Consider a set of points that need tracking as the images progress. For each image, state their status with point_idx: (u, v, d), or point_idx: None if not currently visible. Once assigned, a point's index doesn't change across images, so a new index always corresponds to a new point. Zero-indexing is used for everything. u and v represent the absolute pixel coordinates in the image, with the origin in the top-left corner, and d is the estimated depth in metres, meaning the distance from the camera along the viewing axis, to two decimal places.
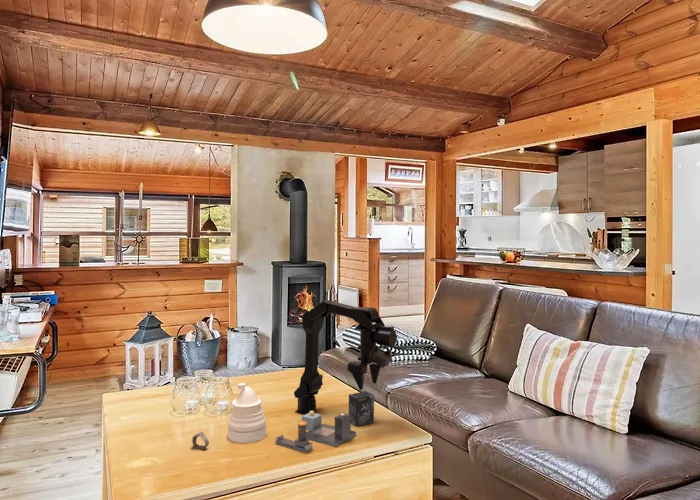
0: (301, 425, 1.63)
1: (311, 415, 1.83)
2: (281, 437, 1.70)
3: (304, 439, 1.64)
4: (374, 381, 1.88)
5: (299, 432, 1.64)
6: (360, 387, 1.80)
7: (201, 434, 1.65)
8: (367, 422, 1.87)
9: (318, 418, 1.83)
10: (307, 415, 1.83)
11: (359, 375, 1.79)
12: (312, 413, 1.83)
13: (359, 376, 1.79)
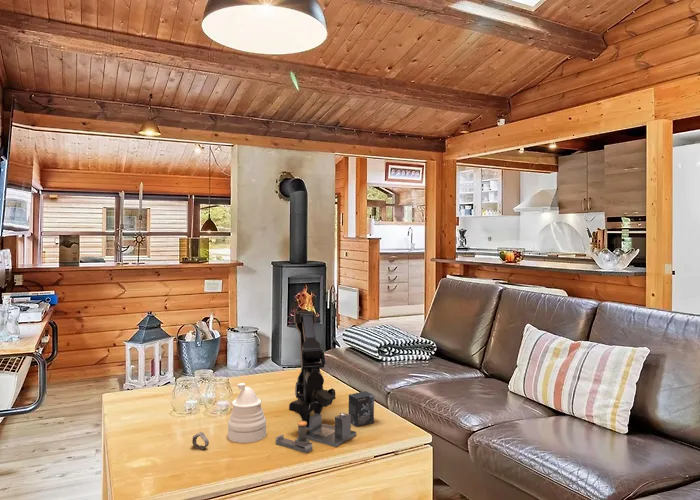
0: (301, 425, 1.63)
1: (311, 415, 1.83)
2: (281, 437, 1.70)
3: (304, 439, 1.64)
4: None
5: (299, 432, 1.64)
6: (306, 425, 1.81)
7: (201, 434, 1.65)
8: (367, 422, 1.87)
9: (318, 418, 1.83)
10: None
11: (305, 413, 1.80)
12: (312, 413, 1.83)
13: (305, 414, 1.80)
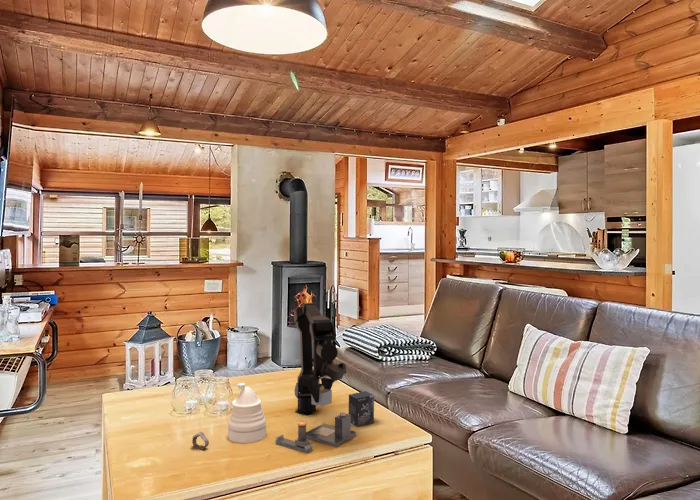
0: (301, 425, 1.63)
1: (321, 390, 1.77)
2: (281, 437, 1.70)
3: (304, 439, 1.64)
4: None
5: (299, 432, 1.64)
6: (316, 400, 1.75)
7: (201, 434, 1.65)
8: (367, 422, 1.87)
9: (328, 393, 1.76)
10: None
11: (314, 388, 1.74)
12: (322, 388, 1.77)
13: (314, 389, 1.74)
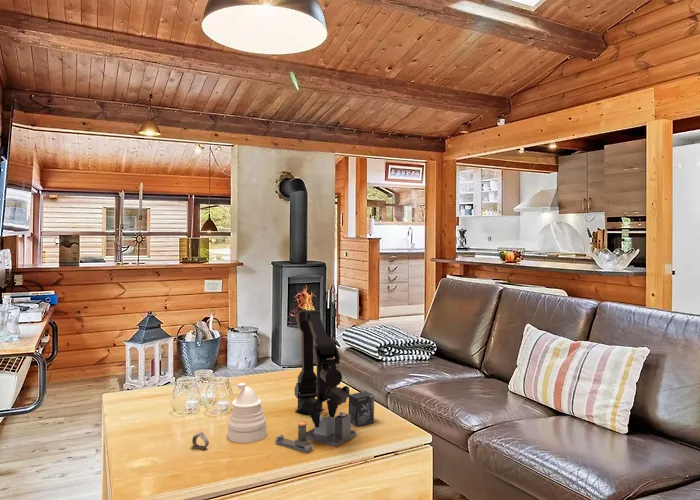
0: (301, 425, 1.63)
1: (324, 418, 1.76)
2: (281, 437, 1.70)
3: (304, 439, 1.64)
4: None
5: (299, 432, 1.64)
6: (316, 425, 1.73)
7: (201, 434, 1.65)
8: (367, 422, 1.87)
9: (331, 421, 1.76)
10: (320, 418, 1.76)
11: (315, 412, 1.72)
12: (325, 416, 1.76)
13: (315, 414, 1.72)
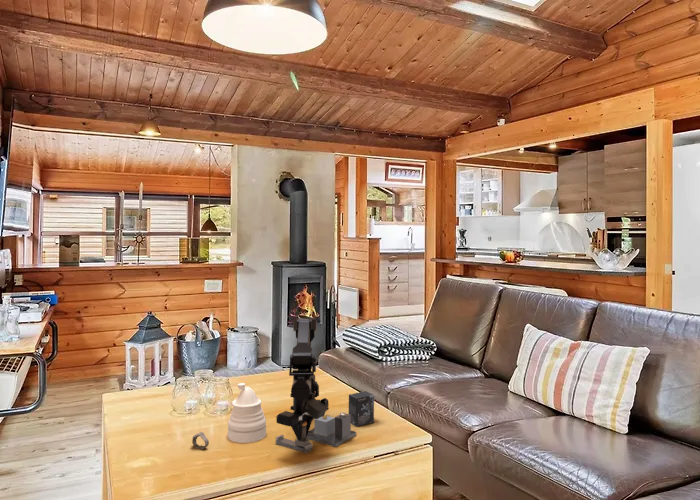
0: None
1: (324, 418, 1.76)
2: (281, 437, 1.70)
3: (304, 439, 1.64)
4: None
5: None
6: (298, 437, 1.63)
7: (201, 434, 1.65)
8: (367, 422, 1.87)
9: (331, 421, 1.76)
10: (320, 418, 1.76)
11: (297, 424, 1.62)
12: (325, 416, 1.76)
13: (297, 425, 1.62)
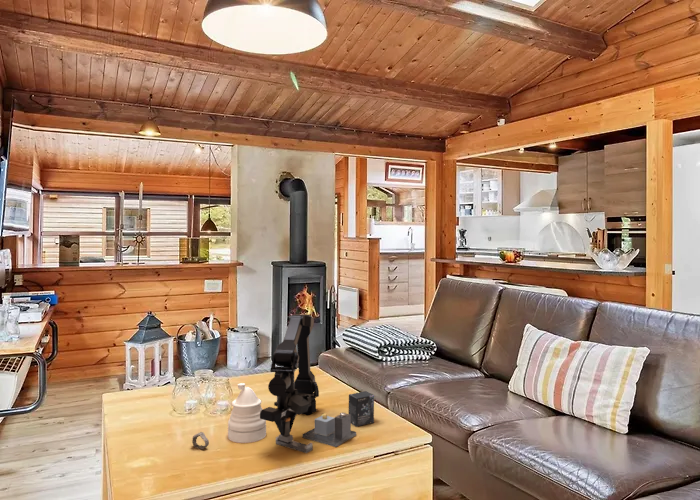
0: None
1: (324, 418, 1.76)
2: None
3: (287, 434, 1.68)
4: None
5: None
6: (281, 433, 1.67)
7: (201, 434, 1.65)
8: (367, 422, 1.87)
9: (331, 421, 1.76)
10: (320, 418, 1.76)
11: (280, 420, 1.66)
12: (325, 416, 1.76)
13: (280, 421, 1.66)
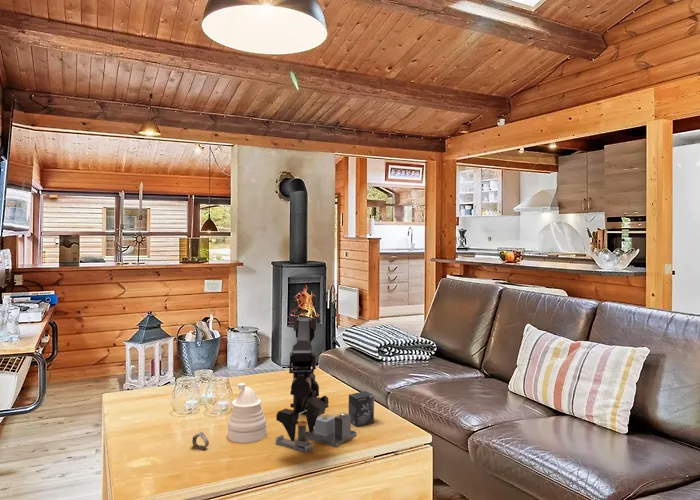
0: (301, 425, 1.63)
1: (324, 418, 1.76)
2: (281, 437, 1.70)
3: (304, 439, 1.64)
4: (310, 429, 1.68)
5: (299, 432, 1.64)
6: (291, 438, 1.60)
7: (201, 434, 1.65)
8: (367, 422, 1.87)
9: (331, 421, 1.76)
10: (320, 418, 1.76)
11: (290, 425, 1.60)
12: (325, 416, 1.76)
13: (290, 426, 1.60)
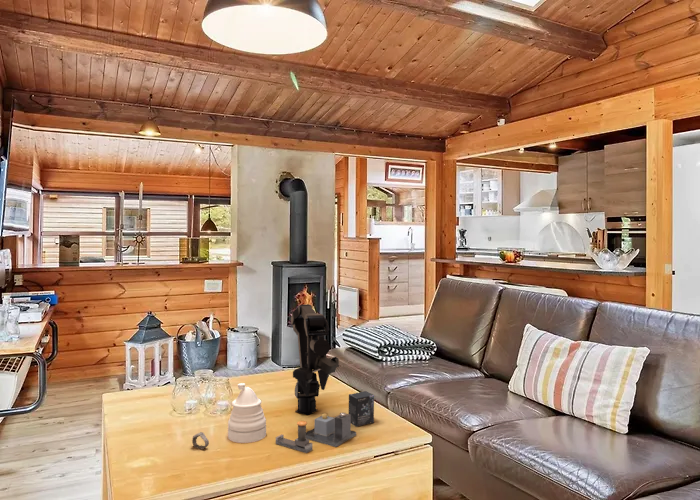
0: (301, 425, 1.63)
1: (324, 418, 1.76)
2: (281, 437, 1.70)
3: (304, 439, 1.64)
4: (322, 387, 1.88)
5: (299, 432, 1.64)
6: (306, 394, 1.81)
7: (201, 434, 1.65)
8: (367, 422, 1.87)
9: (331, 421, 1.76)
10: (320, 418, 1.76)
11: (305, 382, 1.80)
12: (325, 416, 1.76)
13: (305, 383, 1.80)
